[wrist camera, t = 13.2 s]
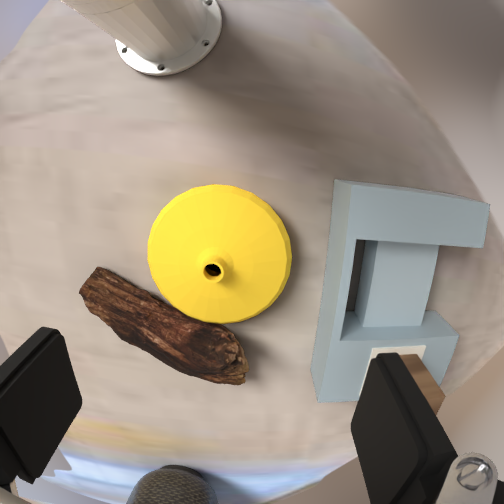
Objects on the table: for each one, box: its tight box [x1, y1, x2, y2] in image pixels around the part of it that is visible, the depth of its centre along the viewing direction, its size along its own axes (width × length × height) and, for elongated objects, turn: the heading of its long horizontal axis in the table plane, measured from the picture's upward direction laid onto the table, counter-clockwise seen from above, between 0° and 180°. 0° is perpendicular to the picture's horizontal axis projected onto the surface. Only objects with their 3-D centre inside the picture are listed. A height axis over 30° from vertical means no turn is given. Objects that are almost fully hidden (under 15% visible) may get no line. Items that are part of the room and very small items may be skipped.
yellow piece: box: [148, 184, 292, 324], centre depth 34 cm, size 16×16×7 cm
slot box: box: [311, 179, 490, 403], centre depth 34 cm, size 25×17×7 cm
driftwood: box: [79, 267, 249, 385], centre depth 36 cm, size 23×8×8 cm, turn 69°
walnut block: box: [399, 354, 445, 415], centre depth 29 cm, size 5×5×8 cm
